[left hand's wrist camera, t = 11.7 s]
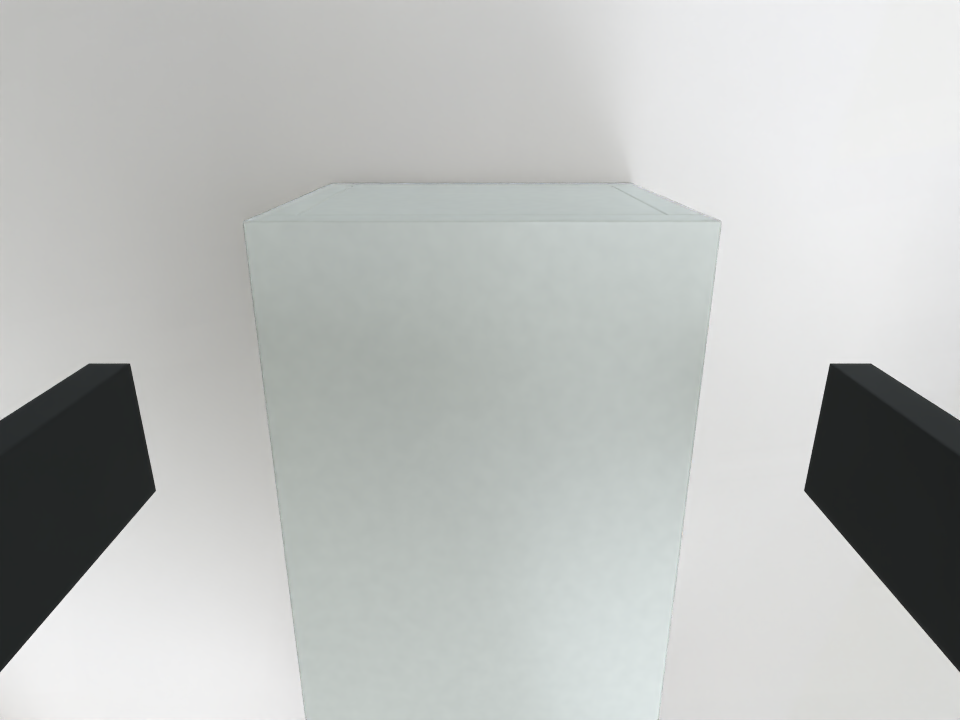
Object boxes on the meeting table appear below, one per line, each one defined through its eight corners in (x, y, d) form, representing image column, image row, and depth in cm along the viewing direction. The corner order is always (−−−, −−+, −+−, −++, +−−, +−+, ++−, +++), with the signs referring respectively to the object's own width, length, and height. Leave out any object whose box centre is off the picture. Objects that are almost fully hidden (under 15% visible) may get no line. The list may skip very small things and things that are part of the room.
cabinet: (598, 636, 32) (643, 839, 23) (365, 636, 32) (320, 839, 23) (633, 182, 25) (722, 220, 16) (330, 182, 25) (242, 221, 16)
